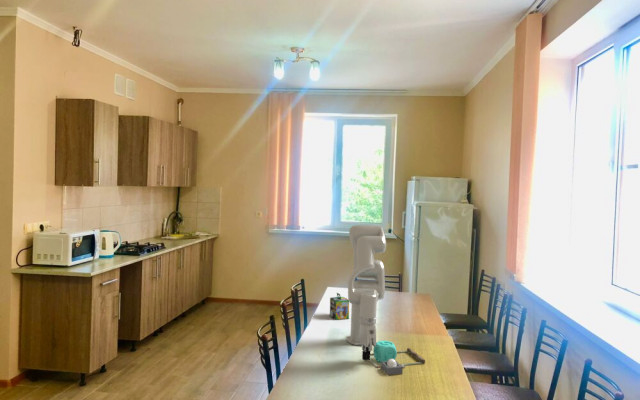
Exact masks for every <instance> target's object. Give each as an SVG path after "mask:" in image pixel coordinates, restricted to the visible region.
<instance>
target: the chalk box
mask: <svg viewBox="0 0 640 400" xmlns="http://www.w3.org/2000/svg"><path fill="white" fill-rule="evenodd" d="M329 316H330V317H331V319H333V320H335V321H337V320H347V319H348V320H349V319H350V302H349V300H348V297H344V296H342V295H341V294H340V293H338V292H336V296H333V297H330V298H329Z"/></svg>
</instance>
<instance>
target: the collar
mask: <svg viewBox="0 0 640 400" xmlns="http://www.w3.org/2000/svg"><path fill="white" fill-rule="evenodd" d="M395 361H396V359H395ZM387 362H388V361H384V362H381V363H380V366H381V368H380V369H381V371H383V372H384V374H386V375H387V376H391V375H392V376H393V375H402V374H403V369H404V368H403V367H402V366H401V365H400V364H401V363H399V362H398V361H396V364H397V366H395V367H388V366H387Z"/></svg>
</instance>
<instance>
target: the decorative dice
mask: <svg viewBox="0 0 640 400" xmlns="http://www.w3.org/2000/svg"><path fill="white" fill-rule="evenodd" d="M396 347H397V346H396V345H395V343H393V342H392V341H390V340H379V341H376V347H374V346H373V347H372V354H373V353H374V355H373V357H374V359H375V361H376V362H378V363H380V364H381V362H384V361H388V360H389V359H394V360H396V359H397V356H398V355H397V354H398V353H397V351H398V350H397V348H396Z"/></svg>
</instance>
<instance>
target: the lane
mask: <svg viewBox="0 0 640 400" xmlns="http://www.w3.org/2000/svg"><path fill="white" fill-rule="evenodd" d="M396 351H397V354H405V353H406V354H407V353H408V354H409V355H411V356H412V357H413V358H414V359H415V360H417V361H418V362H406V363H399V364H400V365H401V366H402V367H403V369H406V366H413V365H414V366H415V365H416V366H417V365H425V364H426V360H425V358H423V357H422V356H421V355H420V354H418V353H417V352H416V351H414V350H413V349H411V348H410V347H407V349H406V350H401V351H398V350H396ZM371 356H374V353H373V352H372V353H370V357H371ZM369 362H370V363H372V365H374V367H375V368H376V369H381V365H377V363H376V362H374V360H373V359H372V358H370V360H369Z"/></svg>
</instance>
